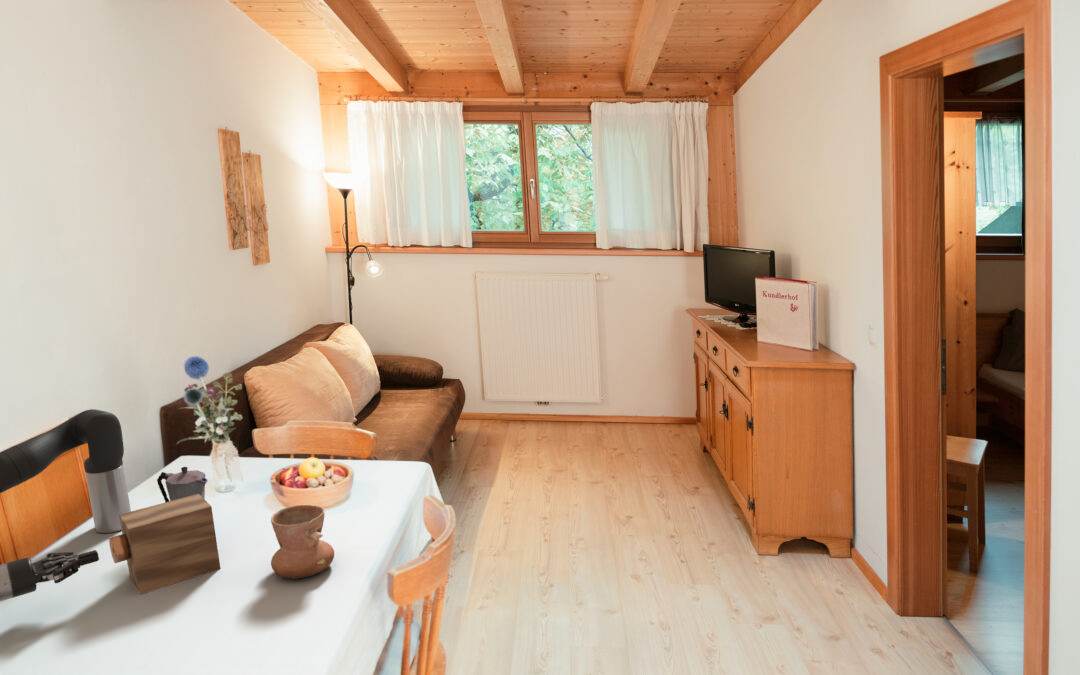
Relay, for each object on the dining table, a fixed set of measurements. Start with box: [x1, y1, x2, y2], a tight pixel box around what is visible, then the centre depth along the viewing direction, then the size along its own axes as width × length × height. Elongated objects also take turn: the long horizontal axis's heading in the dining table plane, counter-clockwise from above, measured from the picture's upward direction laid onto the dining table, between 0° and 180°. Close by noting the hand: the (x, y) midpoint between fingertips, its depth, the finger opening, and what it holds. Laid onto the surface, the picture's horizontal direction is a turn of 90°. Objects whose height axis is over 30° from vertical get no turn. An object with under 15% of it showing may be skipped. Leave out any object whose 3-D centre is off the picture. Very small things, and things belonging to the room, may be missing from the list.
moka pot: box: [156, 466, 209, 503], centre depth 211 cm, size 10×15×20 cm, turn 78°
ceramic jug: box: [270, 504, 335, 579], centre depth 192 cm, size 18×14×14 cm
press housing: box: [119, 494, 221, 595], centre depth 193 cm, size 11×18×16 cm, turn 127°
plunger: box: [108, 533, 130, 564], centre depth 192 cm, size 6×21×6 cm, turn 127°
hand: (97, 555), depth 184 cm, fingers closed
